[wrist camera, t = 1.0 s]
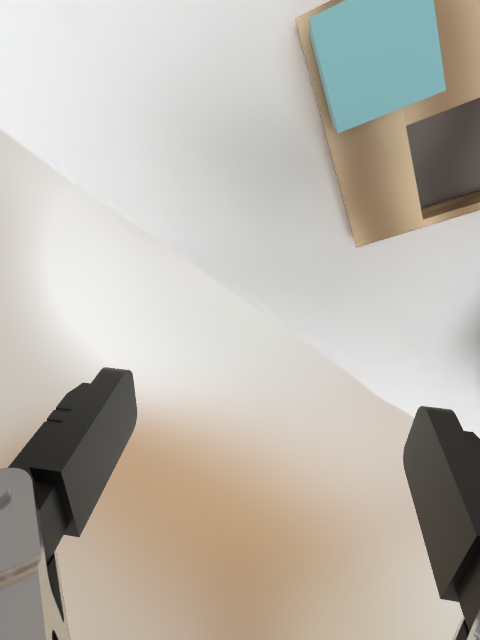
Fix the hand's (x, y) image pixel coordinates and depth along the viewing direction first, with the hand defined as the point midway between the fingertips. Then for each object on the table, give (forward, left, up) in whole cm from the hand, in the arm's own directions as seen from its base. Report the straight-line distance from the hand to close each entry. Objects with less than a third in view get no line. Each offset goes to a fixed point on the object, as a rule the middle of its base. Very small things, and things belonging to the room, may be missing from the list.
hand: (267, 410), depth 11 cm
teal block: (-7, -7, -19) cm, 21 cm away
